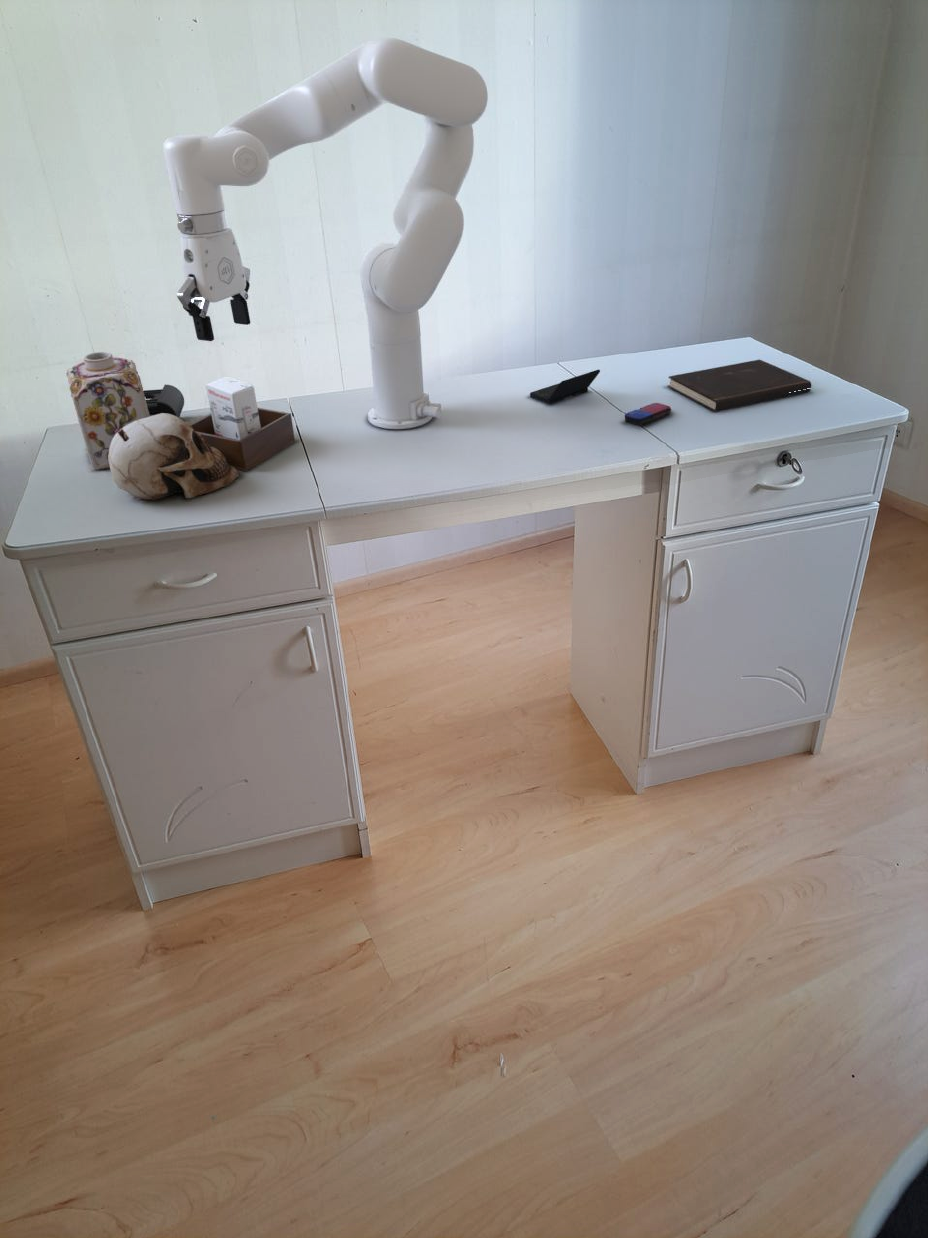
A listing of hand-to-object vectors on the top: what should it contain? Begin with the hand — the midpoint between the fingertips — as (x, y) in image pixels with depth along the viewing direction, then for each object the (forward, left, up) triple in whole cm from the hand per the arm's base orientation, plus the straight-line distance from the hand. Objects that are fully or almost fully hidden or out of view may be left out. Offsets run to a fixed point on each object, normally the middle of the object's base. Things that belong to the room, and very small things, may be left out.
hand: (224, 331), depth 148 cm
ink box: (-1, +2, -20) cm, 20 cm away
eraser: (-64, -41, -21) cm, 79 cm away
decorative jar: (+18, +12, -21) cm, 30 cm away
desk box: (-1, +2, -21) cm, 21 cm away
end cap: (+20, -1, -21) cm, 29 cm away
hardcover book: (-76, -63, -21) cm, 101 cm away
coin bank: (-1, +19, -21) cm, 28 cm away
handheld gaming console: (-45, -46, -21) cm, 67 cm away
